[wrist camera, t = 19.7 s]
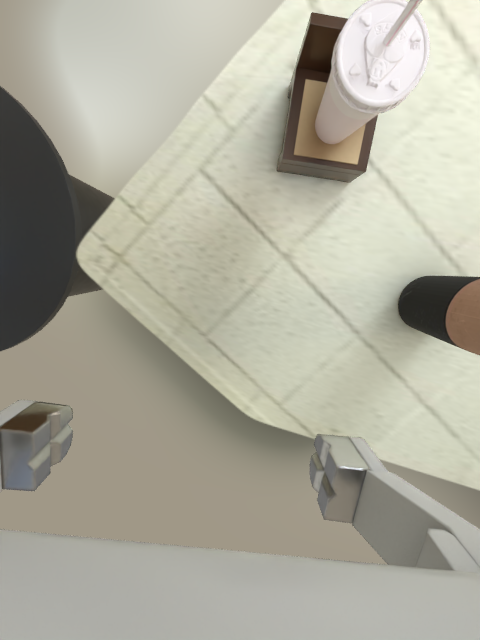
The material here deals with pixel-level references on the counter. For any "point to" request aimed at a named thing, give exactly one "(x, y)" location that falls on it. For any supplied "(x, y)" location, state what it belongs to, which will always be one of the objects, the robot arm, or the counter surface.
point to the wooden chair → (305, 98)
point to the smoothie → (372, 66)
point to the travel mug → (444, 309)
